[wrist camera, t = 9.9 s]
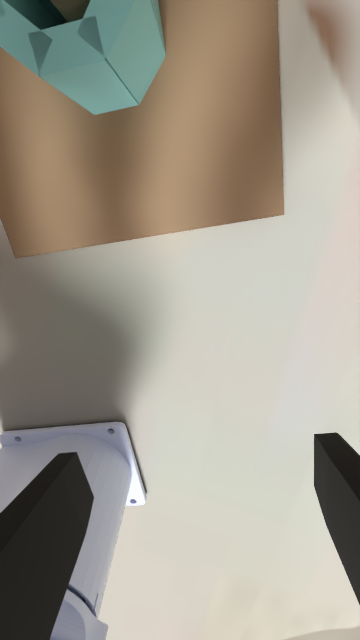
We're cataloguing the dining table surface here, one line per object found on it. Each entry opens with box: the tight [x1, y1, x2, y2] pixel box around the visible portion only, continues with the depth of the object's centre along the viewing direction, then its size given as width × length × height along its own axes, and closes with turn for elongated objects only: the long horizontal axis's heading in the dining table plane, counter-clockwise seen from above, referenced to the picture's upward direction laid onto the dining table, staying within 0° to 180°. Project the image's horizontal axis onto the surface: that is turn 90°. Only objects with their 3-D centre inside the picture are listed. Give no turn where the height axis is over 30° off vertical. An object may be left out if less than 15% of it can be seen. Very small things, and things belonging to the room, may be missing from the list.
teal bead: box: [0, 0, 166, 115], centre depth 10 cm, size 5×5×5 cm
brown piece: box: [0, 0, 284, 258], centre depth 10 cm, size 14×16×7 cm
